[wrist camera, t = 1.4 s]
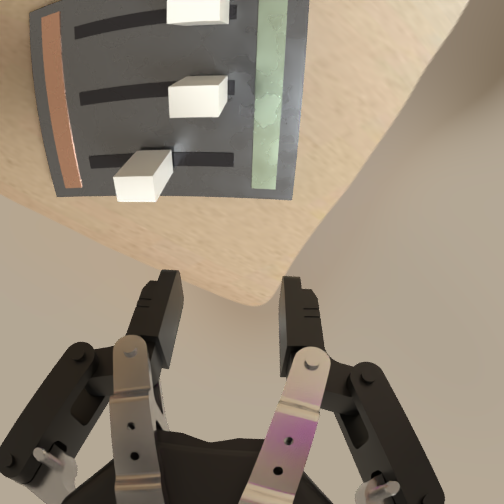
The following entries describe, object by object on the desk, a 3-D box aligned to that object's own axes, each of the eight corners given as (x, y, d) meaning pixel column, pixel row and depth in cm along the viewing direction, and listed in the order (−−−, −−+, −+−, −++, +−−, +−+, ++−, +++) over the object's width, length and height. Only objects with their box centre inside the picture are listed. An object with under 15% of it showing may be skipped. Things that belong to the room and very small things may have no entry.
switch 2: (186, 1, 16) (167, -7, 13) (229, -1, 16) (220, -11, 13) (186, 25, 18) (166, 23, 14) (228, 24, 18) (219, 20, 14)
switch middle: (186, 76, 20) (168, 86, 16) (227, 75, 20) (218, 85, 16) (187, 101, 22) (169, 118, 18) (227, 101, 21) (218, 117, 18)
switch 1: (136, 150, 24) (112, 176, 20) (171, 149, 24) (152, 176, 20) (139, 172, 25) (117, 201, 21) (173, 171, 25) (155, 201, 21)
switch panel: (42, 11, 17) (28, 13, 15) (306, -21, 17) (310, -26, 15) (66, 187, 29) (56, 197, 27) (290, 189, 29) (292, 200, 27)
